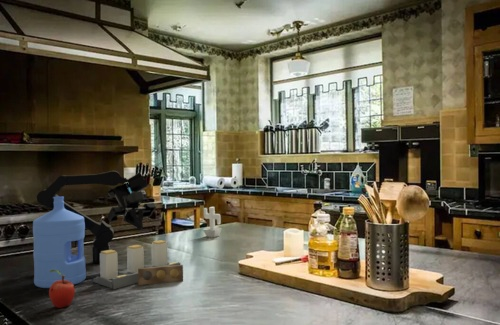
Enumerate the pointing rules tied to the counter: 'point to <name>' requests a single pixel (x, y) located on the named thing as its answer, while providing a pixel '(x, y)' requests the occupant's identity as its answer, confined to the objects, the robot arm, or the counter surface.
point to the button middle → (135, 258)
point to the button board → (124, 278)
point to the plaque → (160, 274)
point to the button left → (108, 264)
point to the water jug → (58, 246)
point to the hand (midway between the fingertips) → (141, 228)
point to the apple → (61, 292)
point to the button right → (159, 253)
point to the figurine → (212, 222)
